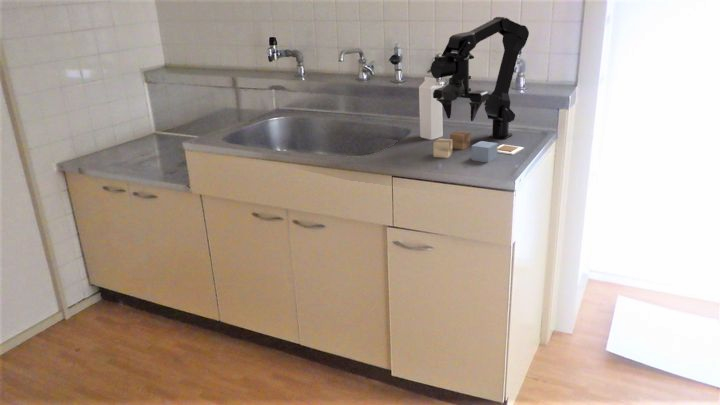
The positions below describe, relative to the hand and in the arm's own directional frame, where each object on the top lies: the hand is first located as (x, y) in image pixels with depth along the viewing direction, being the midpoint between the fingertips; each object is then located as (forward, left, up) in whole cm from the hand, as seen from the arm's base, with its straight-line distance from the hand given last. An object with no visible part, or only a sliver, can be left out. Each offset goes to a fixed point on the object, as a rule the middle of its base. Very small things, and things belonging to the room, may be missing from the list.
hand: (460, 119), depth 206 cm
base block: (+8, +14, -10) cm, 19 cm away
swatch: (-4, +16, -10) cm, 19 cm away
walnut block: (0, 0, -10) cm, 10 cm away
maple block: (+11, 0, -10) cm, 15 cm away
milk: (-6, -16, -10) cm, 20 cm away
